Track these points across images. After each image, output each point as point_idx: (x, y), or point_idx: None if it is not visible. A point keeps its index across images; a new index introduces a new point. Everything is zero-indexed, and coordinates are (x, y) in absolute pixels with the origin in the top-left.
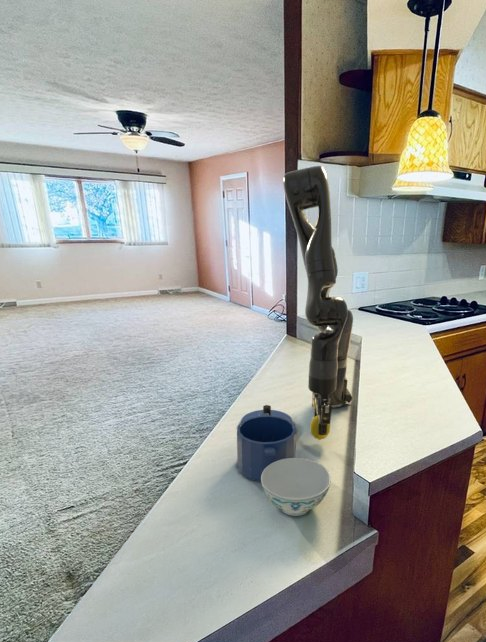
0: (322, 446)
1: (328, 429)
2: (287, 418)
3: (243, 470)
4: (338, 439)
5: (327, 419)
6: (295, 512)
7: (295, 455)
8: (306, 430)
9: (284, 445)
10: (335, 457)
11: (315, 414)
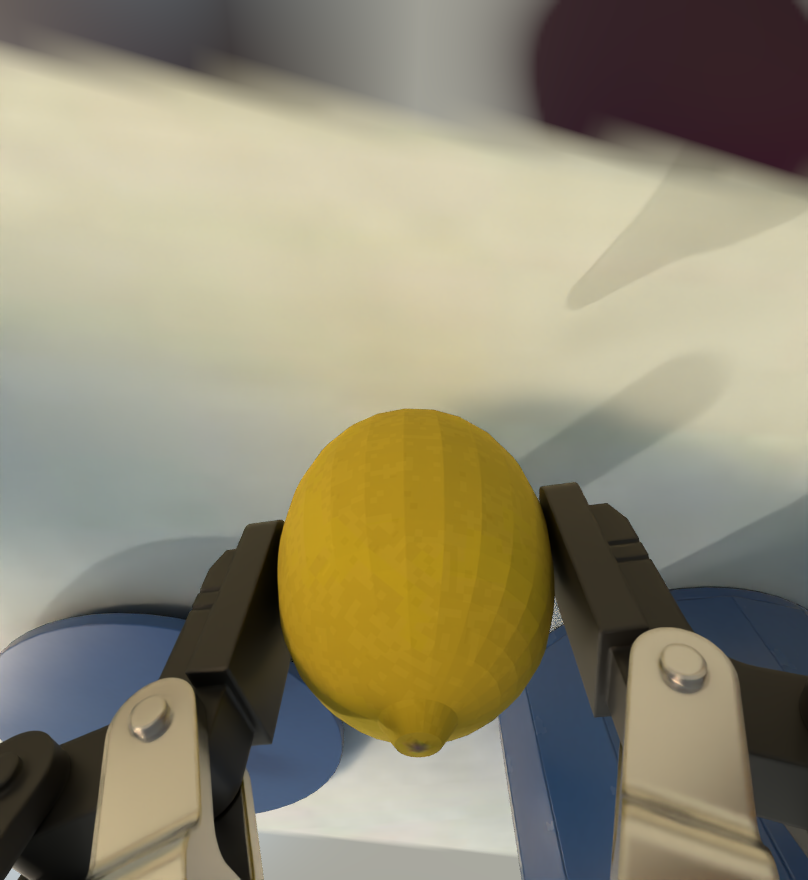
0: (462, 400)
1: (503, 470)
2: (78, 650)
3: None
4: (304, 218)
5: (739, 724)
6: None
7: (796, 670)
8: (190, 513)
9: None
10: (684, 289)
11: (272, 711)
